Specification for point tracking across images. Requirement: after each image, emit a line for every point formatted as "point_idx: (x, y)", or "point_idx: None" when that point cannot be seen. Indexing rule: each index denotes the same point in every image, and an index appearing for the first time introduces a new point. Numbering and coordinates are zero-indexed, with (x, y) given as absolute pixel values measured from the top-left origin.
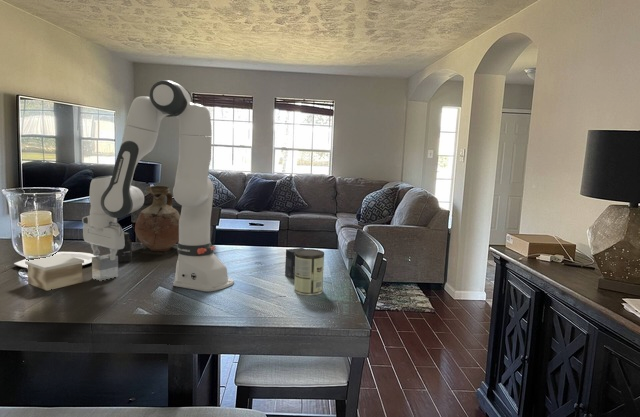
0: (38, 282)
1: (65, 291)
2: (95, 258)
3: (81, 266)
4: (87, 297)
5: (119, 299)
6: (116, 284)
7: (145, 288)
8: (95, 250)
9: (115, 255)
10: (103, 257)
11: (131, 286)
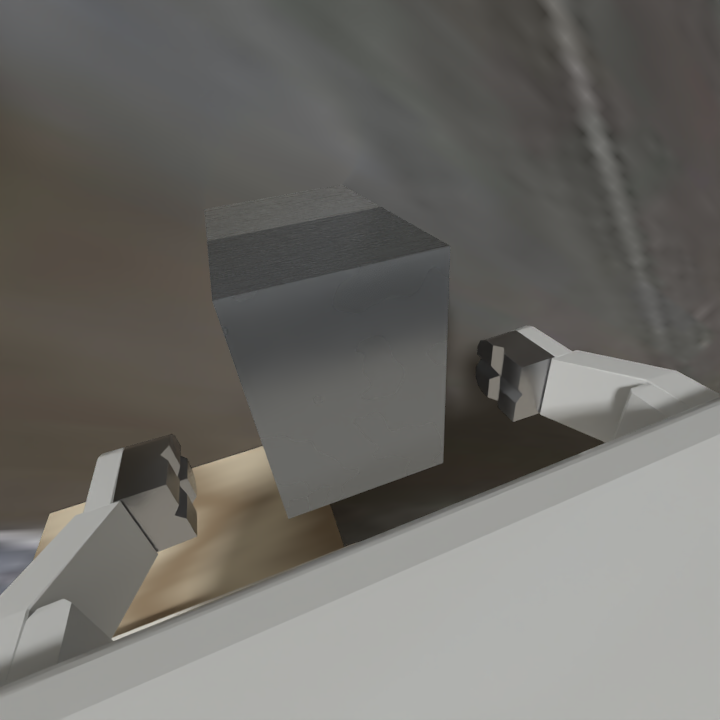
0: None
1: (403, 499)
2: (363, 490)
3: (336, 528)
4: (541, 438)
5: (664, 347)
6: (500, 281)
7: (697, 171)
8: (144, 543)
9: (394, 264)
10: (387, 423)
11: (603, 222)
